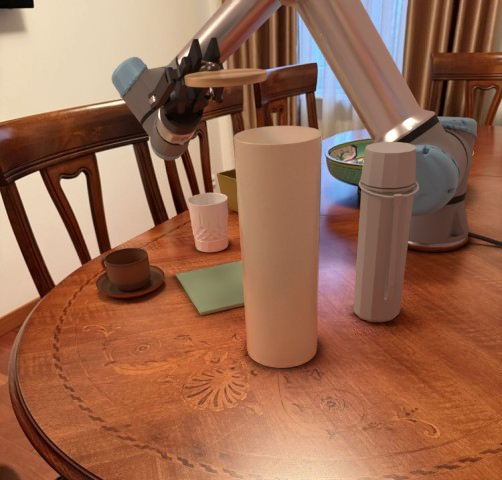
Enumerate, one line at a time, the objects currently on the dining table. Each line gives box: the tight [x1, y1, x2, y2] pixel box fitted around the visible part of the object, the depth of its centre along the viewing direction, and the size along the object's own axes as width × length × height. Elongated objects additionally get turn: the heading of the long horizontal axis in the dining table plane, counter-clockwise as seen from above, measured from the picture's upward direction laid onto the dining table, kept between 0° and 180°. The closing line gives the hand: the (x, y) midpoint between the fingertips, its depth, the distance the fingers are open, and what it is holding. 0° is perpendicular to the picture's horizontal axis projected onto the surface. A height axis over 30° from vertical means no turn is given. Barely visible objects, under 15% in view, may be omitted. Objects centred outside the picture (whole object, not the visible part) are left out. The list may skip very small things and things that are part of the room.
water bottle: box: [353, 142, 419, 323], centre depth 73 cm, size 9×8×25 cm
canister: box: [233, 125, 323, 369], centre depth 66 cm, size 10×10×29 cm
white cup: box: [187, 192, 229, 253], centre depth 105 cm, size 8×8×10 cm
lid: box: [184, 60, 268, 88], centre depth 74 cm, size 22×11×2 cm, turn 22°
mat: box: [174, 260, 244, 316], centre depth 92 cm, size 16×16×1 cm
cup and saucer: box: [95, 247, 165, 299], centre depth 91 cm, size 12×12×6 cm
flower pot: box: [216, 167, 238, 213], centre depth 124 cm, size 9×9×9 cm
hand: (207, 47), depth 74 cm, fingers closed on lid, 2 cm apart
